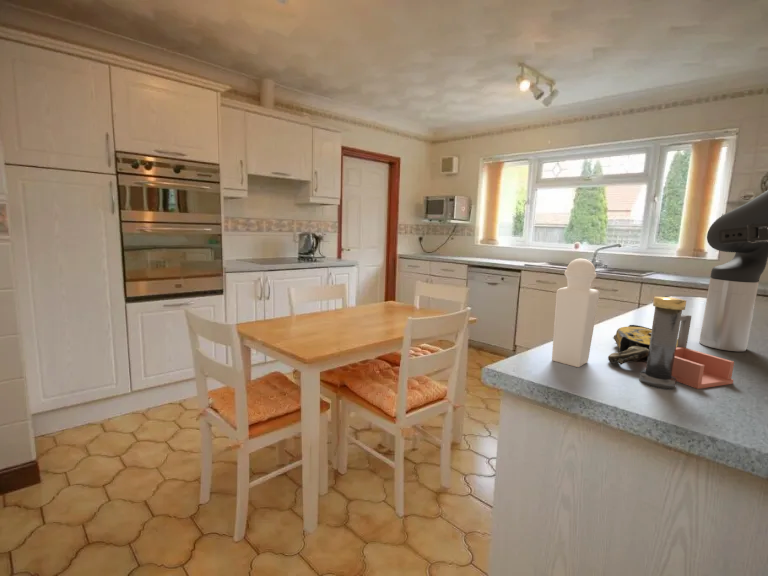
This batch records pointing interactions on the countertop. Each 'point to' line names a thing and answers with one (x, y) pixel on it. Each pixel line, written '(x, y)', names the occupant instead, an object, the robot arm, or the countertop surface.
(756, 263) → the robot arm
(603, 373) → the countertop surface
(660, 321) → the tie-down post
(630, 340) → the pulley block
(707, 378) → the keeper bracket
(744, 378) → the countertop surface
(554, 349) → the white square bottle
